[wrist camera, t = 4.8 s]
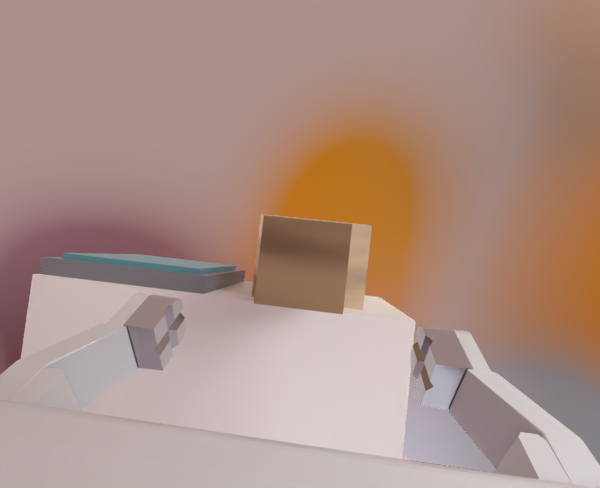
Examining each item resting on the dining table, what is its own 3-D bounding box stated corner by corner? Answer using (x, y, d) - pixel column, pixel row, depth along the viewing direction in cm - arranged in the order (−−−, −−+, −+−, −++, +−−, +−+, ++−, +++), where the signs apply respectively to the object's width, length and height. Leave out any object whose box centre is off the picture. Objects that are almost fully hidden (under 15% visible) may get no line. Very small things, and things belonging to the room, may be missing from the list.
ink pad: (243, 281, 32) (245, 266, 32) (203, 293, 21) (206, 270, 21) (134, 268, 33) (135, 253, 33) (39, 274, 22) (42, 251, 22)
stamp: (399, 354, 12) (414, 198, 12) (194, 327, 12) (212, 179, 12) (351, 296, 29) (358, 234, 30) (269, 286, 30) (276, 225, 30)
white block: (355, 539, 30) (379, 297, 31) (377, 721, 18) (415, 321, 19) (107, 495, 32) (136, 268, 33) (-19, 634, 20) (32, 274, 21)
